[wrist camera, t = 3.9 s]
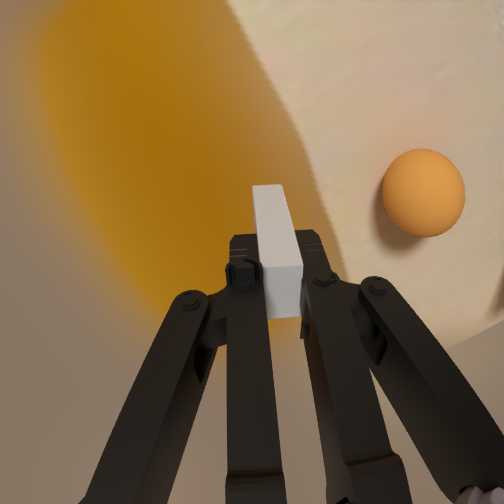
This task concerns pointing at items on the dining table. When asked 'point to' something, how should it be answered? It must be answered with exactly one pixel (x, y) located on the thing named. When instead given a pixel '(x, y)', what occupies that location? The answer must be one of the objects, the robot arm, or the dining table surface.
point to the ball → (423, 193)
